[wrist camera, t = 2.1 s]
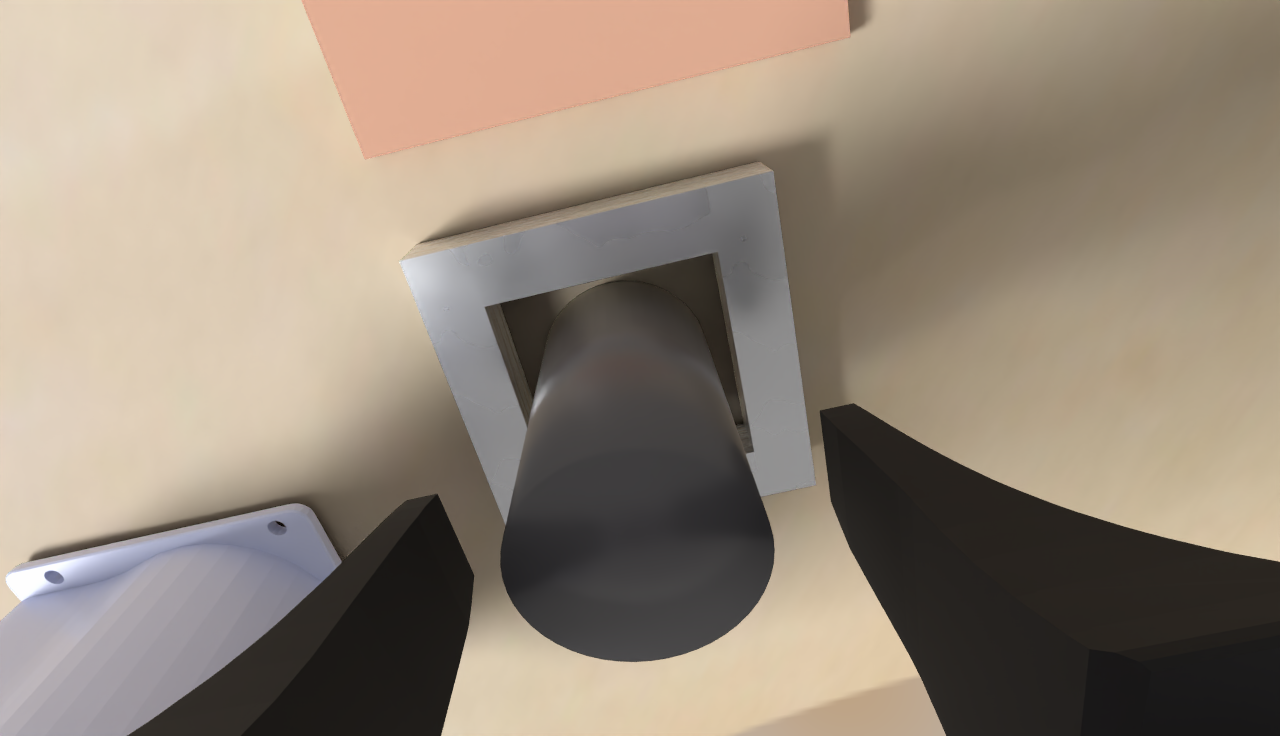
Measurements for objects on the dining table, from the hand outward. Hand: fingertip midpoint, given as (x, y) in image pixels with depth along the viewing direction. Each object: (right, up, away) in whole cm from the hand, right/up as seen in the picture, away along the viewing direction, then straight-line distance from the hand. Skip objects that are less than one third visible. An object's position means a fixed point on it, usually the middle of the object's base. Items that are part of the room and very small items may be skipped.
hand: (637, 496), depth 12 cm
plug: (0, +3, +6) cm, 6 cm away
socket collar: (0, +3, +6) cm, 6 cm away
